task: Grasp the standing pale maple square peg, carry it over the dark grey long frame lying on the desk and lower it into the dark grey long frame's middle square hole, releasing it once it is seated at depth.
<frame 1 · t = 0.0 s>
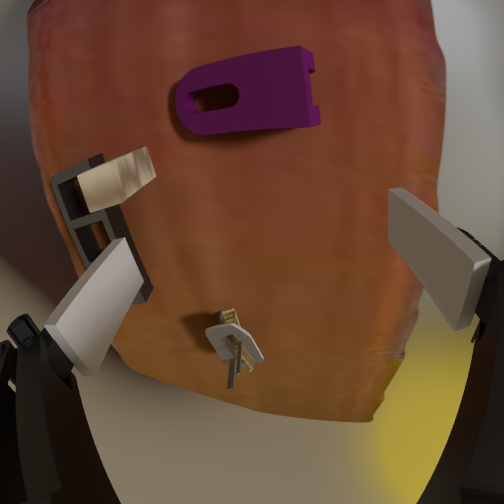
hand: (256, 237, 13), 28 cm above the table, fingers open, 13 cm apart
peg: (137, 165, 38), on the table
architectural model: (237, 321, 54), on the table
mounting bracket: (244, 95, 34), on the table
dark grey long frame: (106, 230, 44), on the table
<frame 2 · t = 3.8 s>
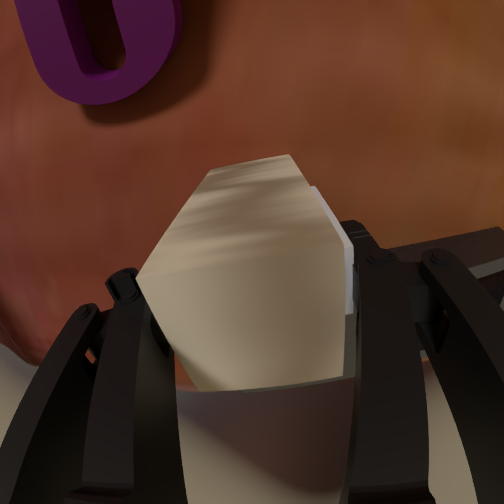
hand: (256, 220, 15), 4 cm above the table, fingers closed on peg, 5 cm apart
peg: (257, 198, 18), on the table, touching gripper
dark grey long frame: (384, 295, 21), on the table
when the fingers open (6 cm above the table, at t = 8.4 s): peg drops 2 cm, resting in dark grey long frame.
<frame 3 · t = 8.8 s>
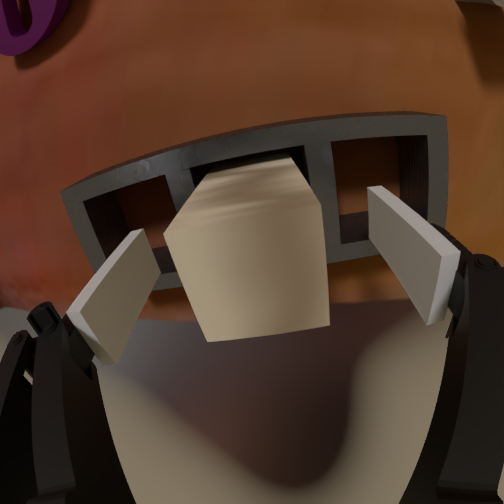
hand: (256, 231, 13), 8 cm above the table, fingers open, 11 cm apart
peg: (257, 187, 20), resting in dark grey long frame
dark grey long frame: (257, 187, 20), on the table
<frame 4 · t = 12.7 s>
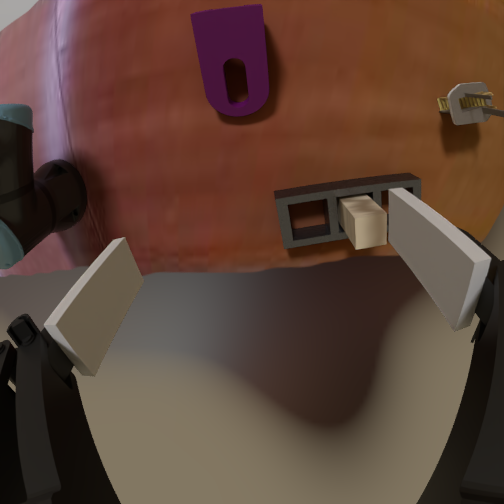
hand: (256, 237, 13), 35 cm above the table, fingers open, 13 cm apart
peg: (348, 203, 48), resting in dark grey long frame
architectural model: (449, 101, 36), on the table
mounting bracket: (236, 63, 37), on the table
dark grey long frame: (348, 203, 48), on the table
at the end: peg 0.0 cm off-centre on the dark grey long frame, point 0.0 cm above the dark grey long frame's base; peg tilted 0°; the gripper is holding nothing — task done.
